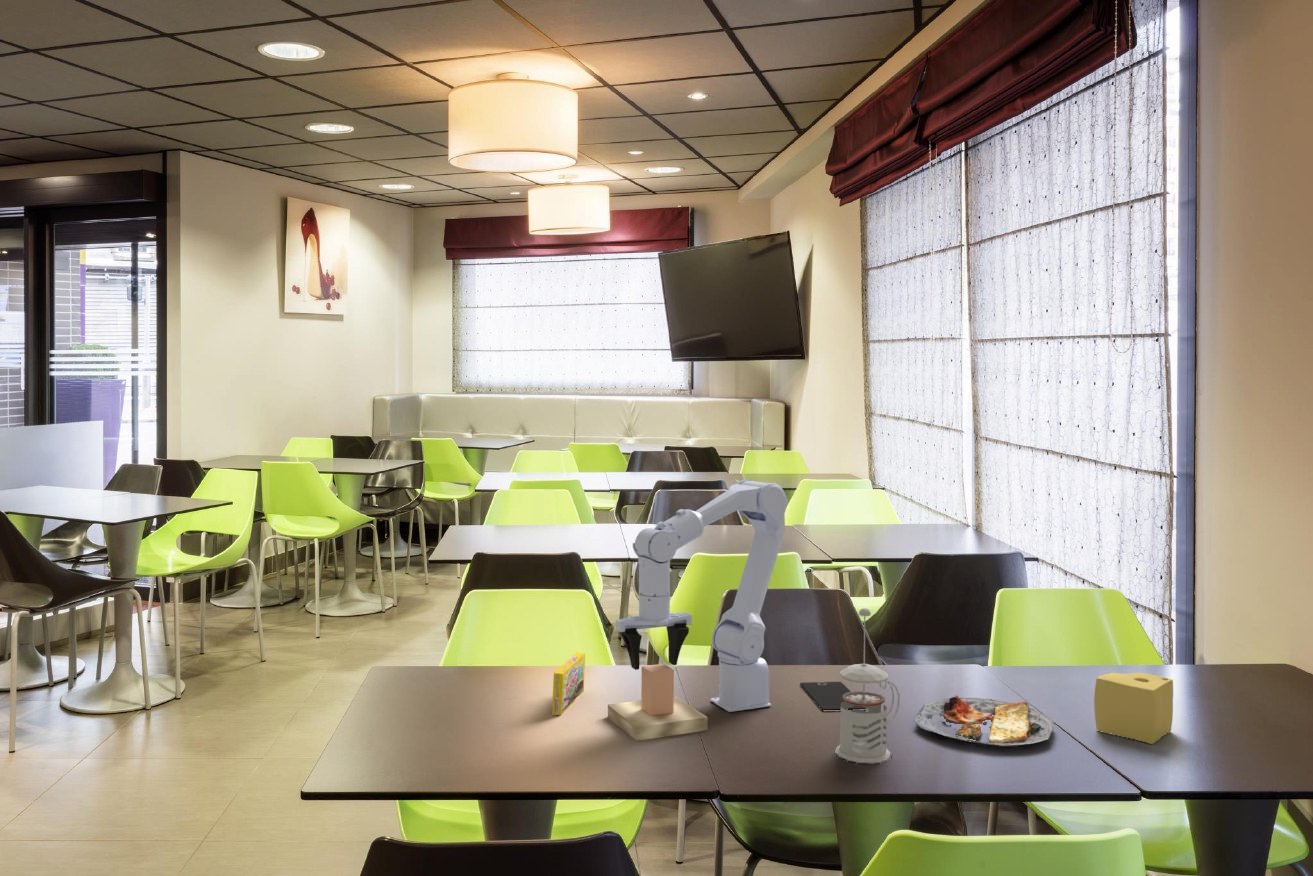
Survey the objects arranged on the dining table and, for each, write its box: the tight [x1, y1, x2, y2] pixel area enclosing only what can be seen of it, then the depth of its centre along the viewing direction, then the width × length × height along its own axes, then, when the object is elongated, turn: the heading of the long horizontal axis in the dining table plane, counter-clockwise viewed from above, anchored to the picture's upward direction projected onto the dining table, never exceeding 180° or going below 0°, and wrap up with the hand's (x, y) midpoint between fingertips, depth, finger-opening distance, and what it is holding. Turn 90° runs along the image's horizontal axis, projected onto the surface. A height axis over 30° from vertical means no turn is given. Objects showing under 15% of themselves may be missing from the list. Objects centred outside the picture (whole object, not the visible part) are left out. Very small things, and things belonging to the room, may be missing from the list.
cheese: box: [1093, 672, 1174, 745], centre depth 184 cm, size 10×11×10 cm
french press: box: [835, 607, 901, 762], centre depth 172 cm, size 10×12×25 cm
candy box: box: [551, 651, 586, 716], centre depth 200 cm, size 16×2×8 cm, turn 168°
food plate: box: [914, 694, 1055, 748], centre depth 186 cm, size 25×23×4 cm
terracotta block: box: [640, 663, 675, 716], centre depth 188 cm, size 4×4×8 cm
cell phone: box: [799, 681, 866, 711], centre depth 204 cm, size 9×18×1 cm, turn 6°
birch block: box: [607, 695, 708, 742], centre depth 188 cm, size 14×14×3 cm
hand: (654, 666), depth 189 cm, fingers open, 7 cm apart
